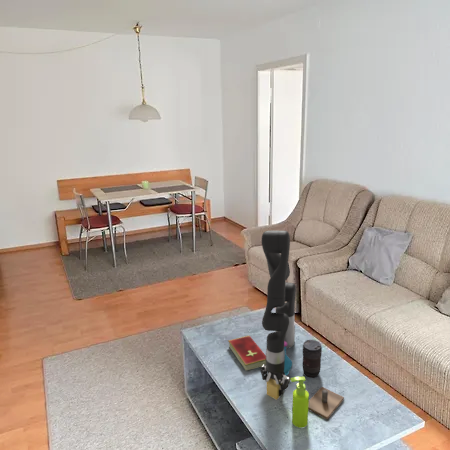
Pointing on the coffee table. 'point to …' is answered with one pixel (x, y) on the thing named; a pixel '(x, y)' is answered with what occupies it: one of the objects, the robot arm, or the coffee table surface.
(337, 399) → the post board
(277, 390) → the tan wooden block
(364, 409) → the coffee table surface
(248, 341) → the hardcover book
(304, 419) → the soap dispenser
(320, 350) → the camera lens
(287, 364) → the perfume bottle
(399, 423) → the coffee table surface
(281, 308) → the robot arm
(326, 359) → the coffee table surface
